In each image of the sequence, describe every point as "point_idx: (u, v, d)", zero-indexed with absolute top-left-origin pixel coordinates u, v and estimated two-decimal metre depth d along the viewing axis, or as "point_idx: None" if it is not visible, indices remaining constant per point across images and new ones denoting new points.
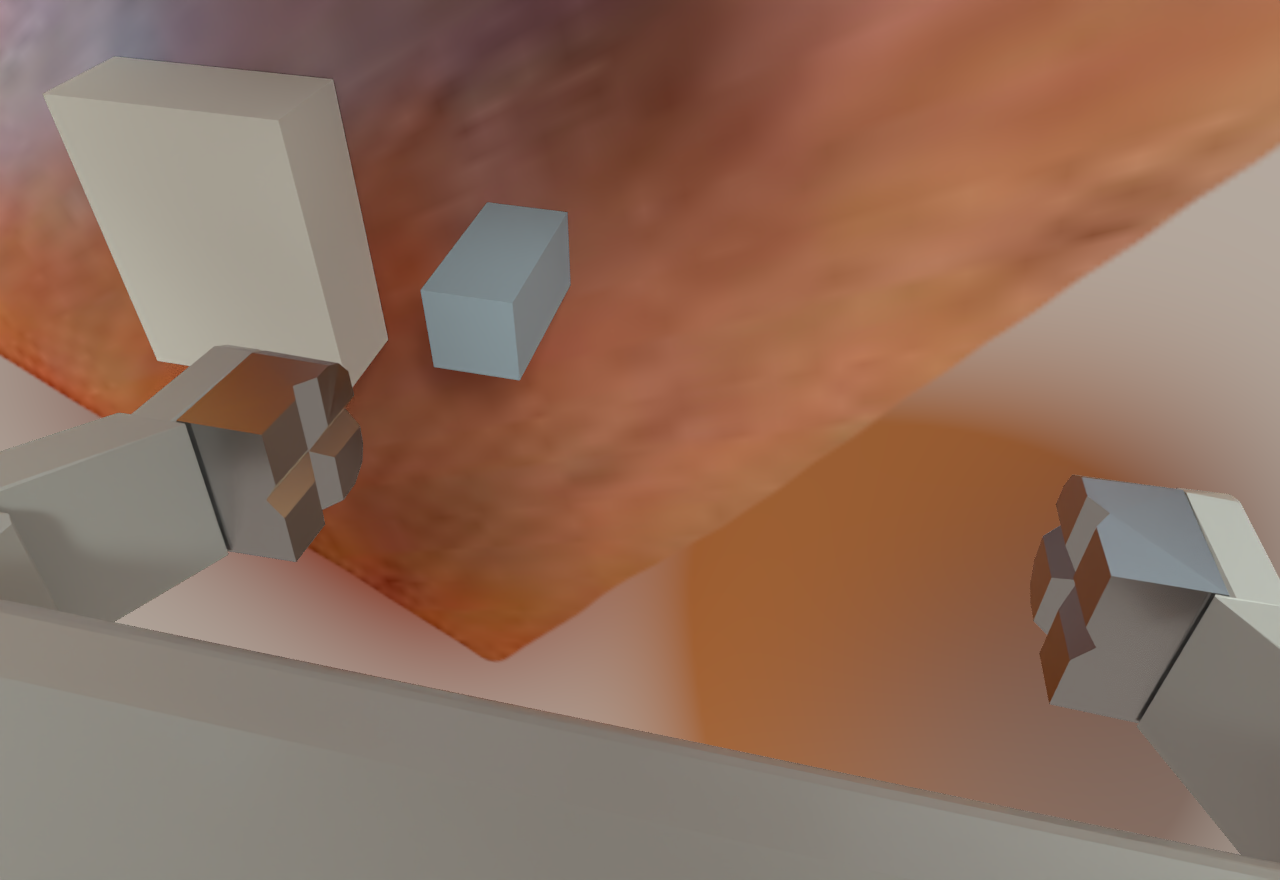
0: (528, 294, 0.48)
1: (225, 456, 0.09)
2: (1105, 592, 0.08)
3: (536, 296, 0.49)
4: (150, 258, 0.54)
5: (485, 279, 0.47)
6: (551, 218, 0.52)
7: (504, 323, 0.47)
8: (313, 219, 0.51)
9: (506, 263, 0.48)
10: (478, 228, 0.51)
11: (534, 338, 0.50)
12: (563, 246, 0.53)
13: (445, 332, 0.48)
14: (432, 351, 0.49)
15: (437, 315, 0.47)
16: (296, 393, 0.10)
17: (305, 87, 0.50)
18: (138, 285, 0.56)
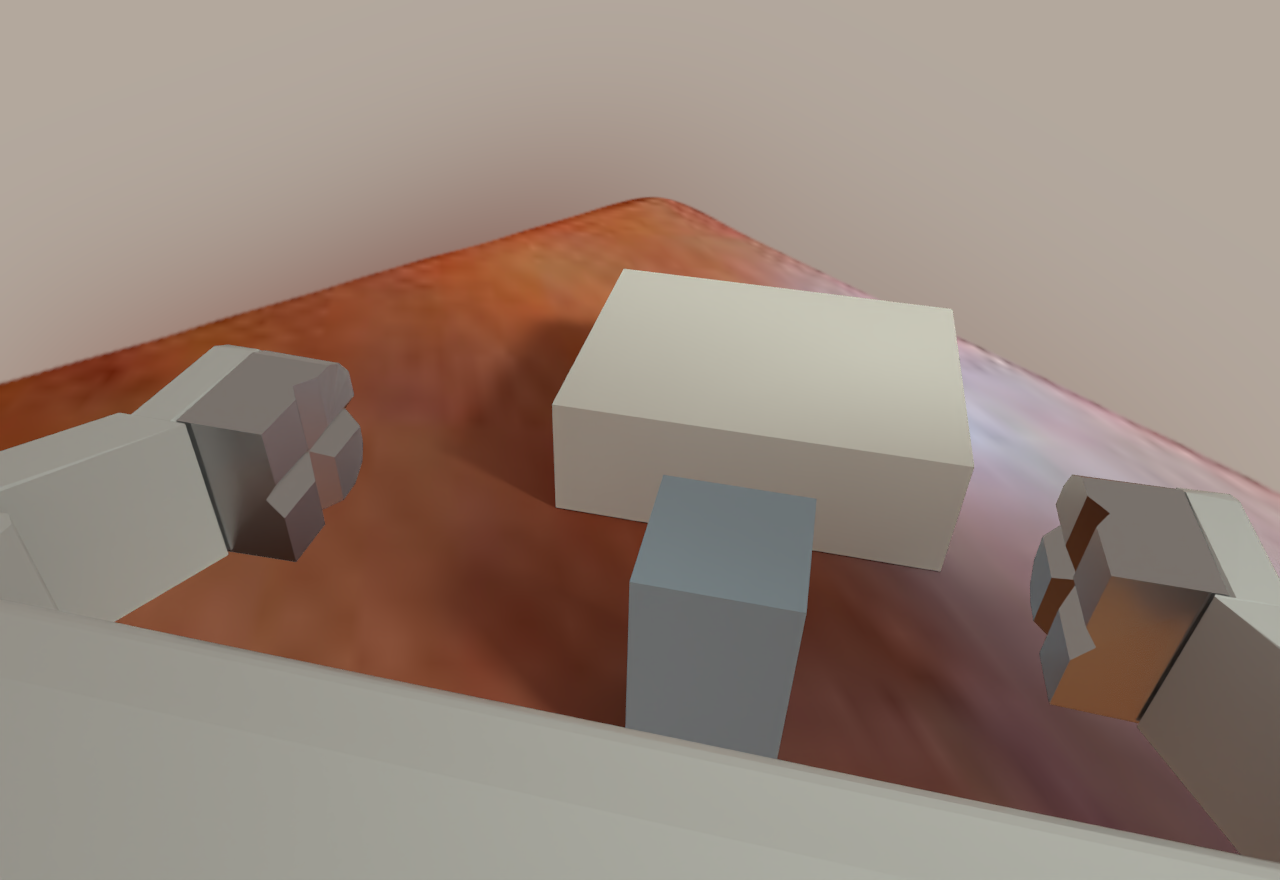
0: (761, 663, 0.26)
1: (225, 456, 0.09)
2: (1105, 592, 0.08)
3: (728, 683, 0.27)
4: (765, 310, 0.47)
5: None
6: None
7: (760, 590, 0.25)
8: (821, 461, 0.38)
9: None
10: None
11: (656, 652, 0.27)
12: None
13: (734, 507, 0.28)
14: (695, 481, 0.29)
15: (770, 506, 0.28)
16: (296, 393, 0.10)
17: None
18: (728, 290, 0.49)
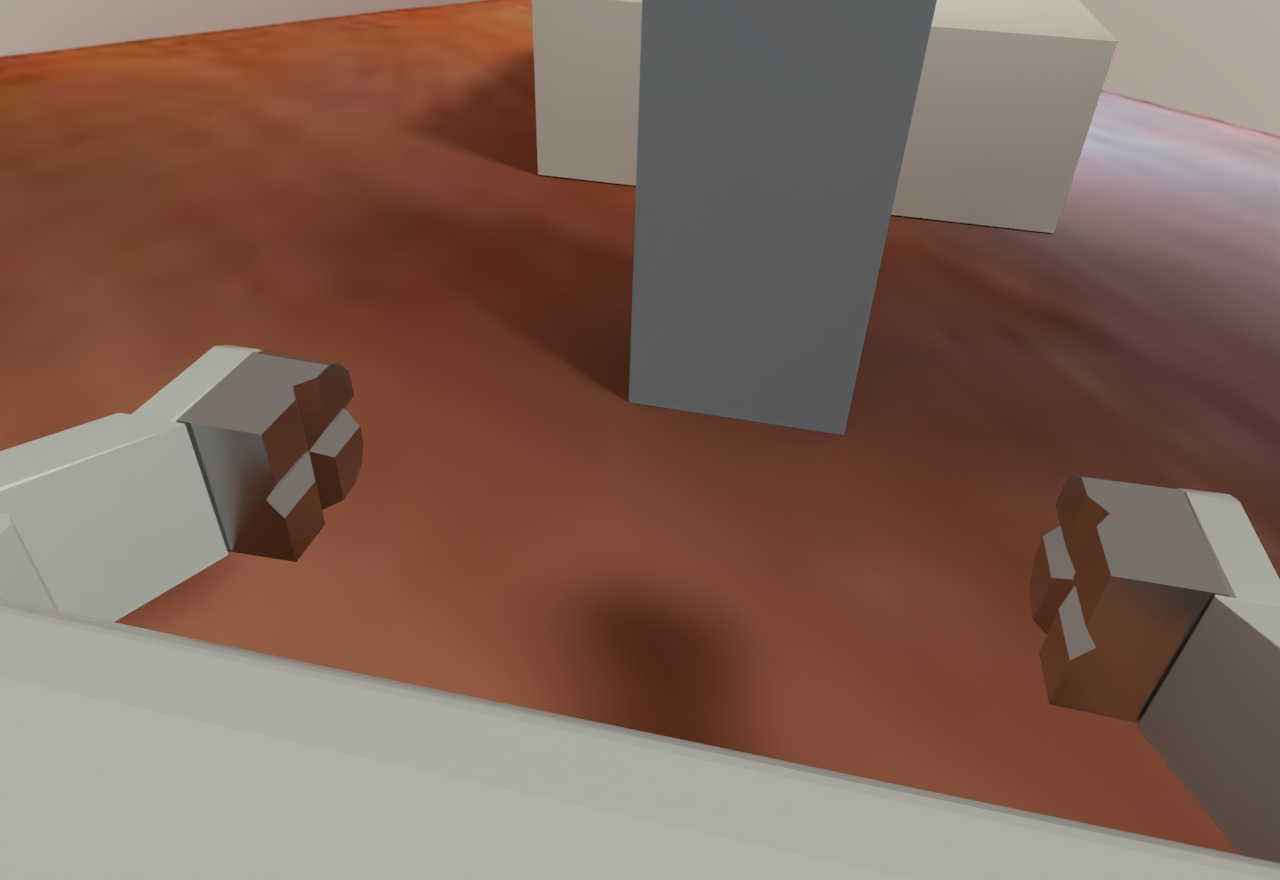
0: (861, 81, 0.16)
1: (225, 456, 0.09)
2: (1105, 592, 0.08)
3: (803, 141, 0.17)
4: None
5: None
6: None
7: None
8: None
9: None
10: None
11: (687, 86, 0.17)
12: (776, 384, 0.20)
13: None
14: None
15: None
16: (296, 393, 0.10)
17: None
18: None
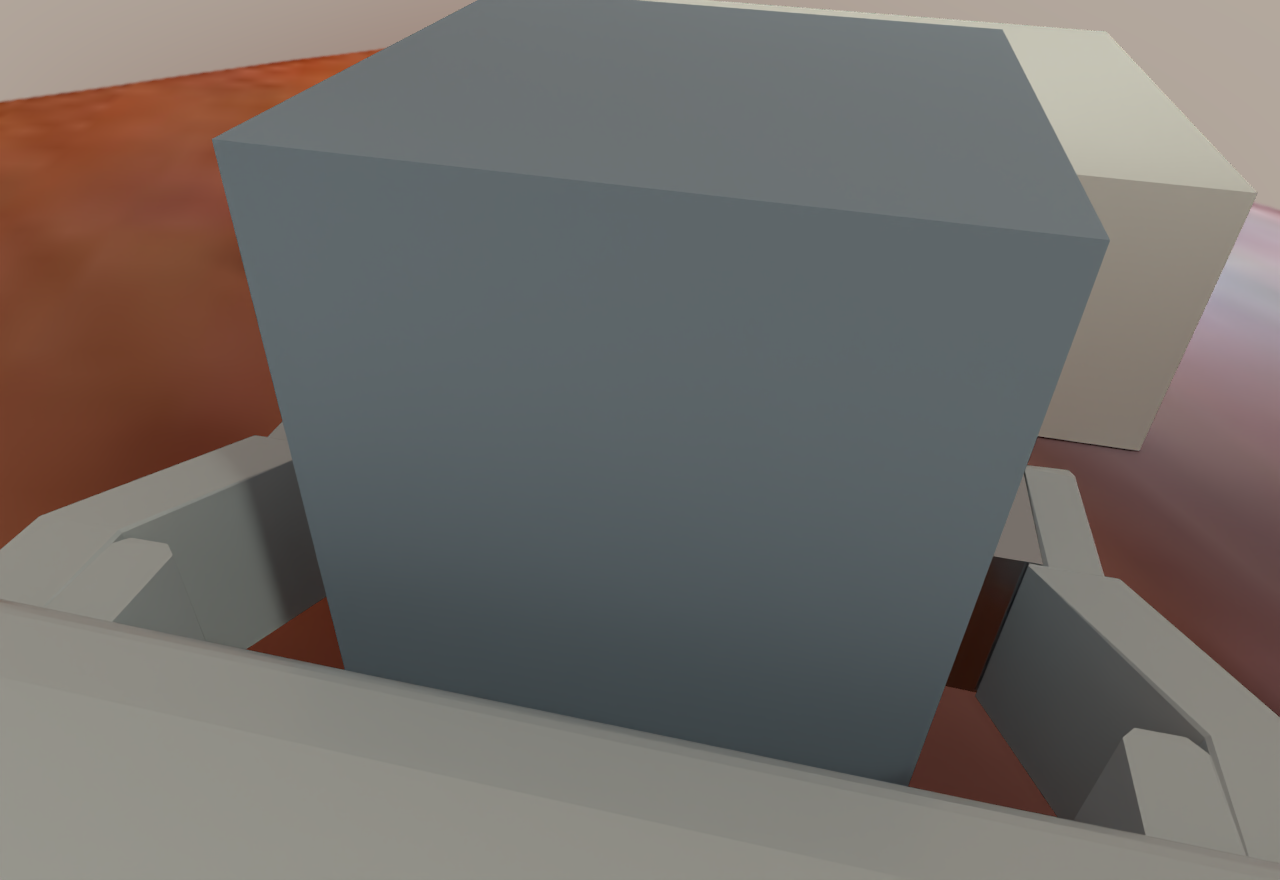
0: (835, 554, 0.06)
1: None
2: None
3: (697, 644, 0.07)
4: None
5: None
6: None
7: (844, 172, 0.05)
8: None
9: None
10: None
11: (411, 519, 0.07)
12: None
13: (724, 31, 0.08)
14: None
15: (847, 33, 0.08)
16: None
17: None
18: None
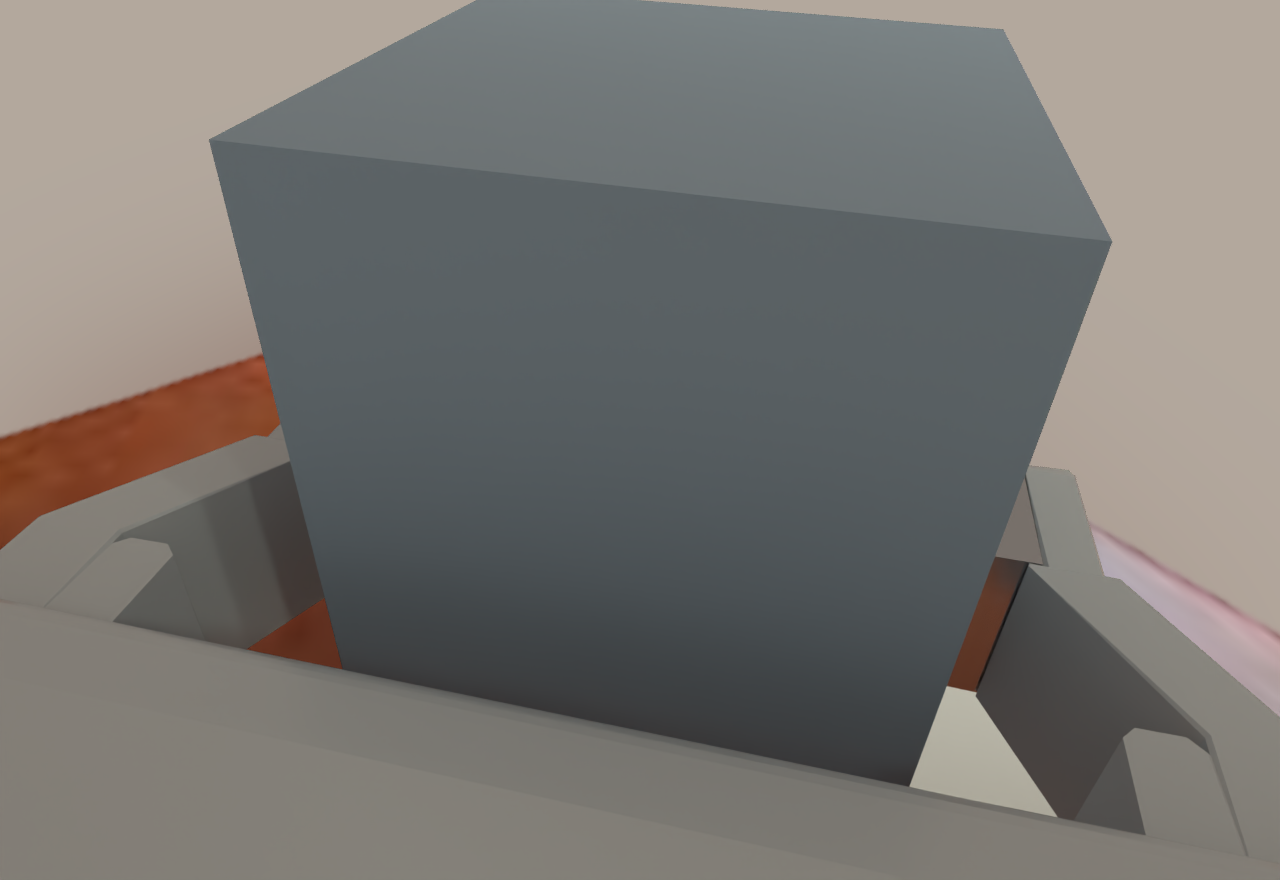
0: (835, 556, 0.06)
1: None
2: None
3: (697, 646, 0.07)
4: None
5: None
6: None
7: (844, 172, 0.05)
8: None
9: None
10: None
11: (410, 520, 0.07)
12: None
13: (723, 31, 0.08)
14: None
15: (848, 33, 0.08)
16: None
17: None
18: None
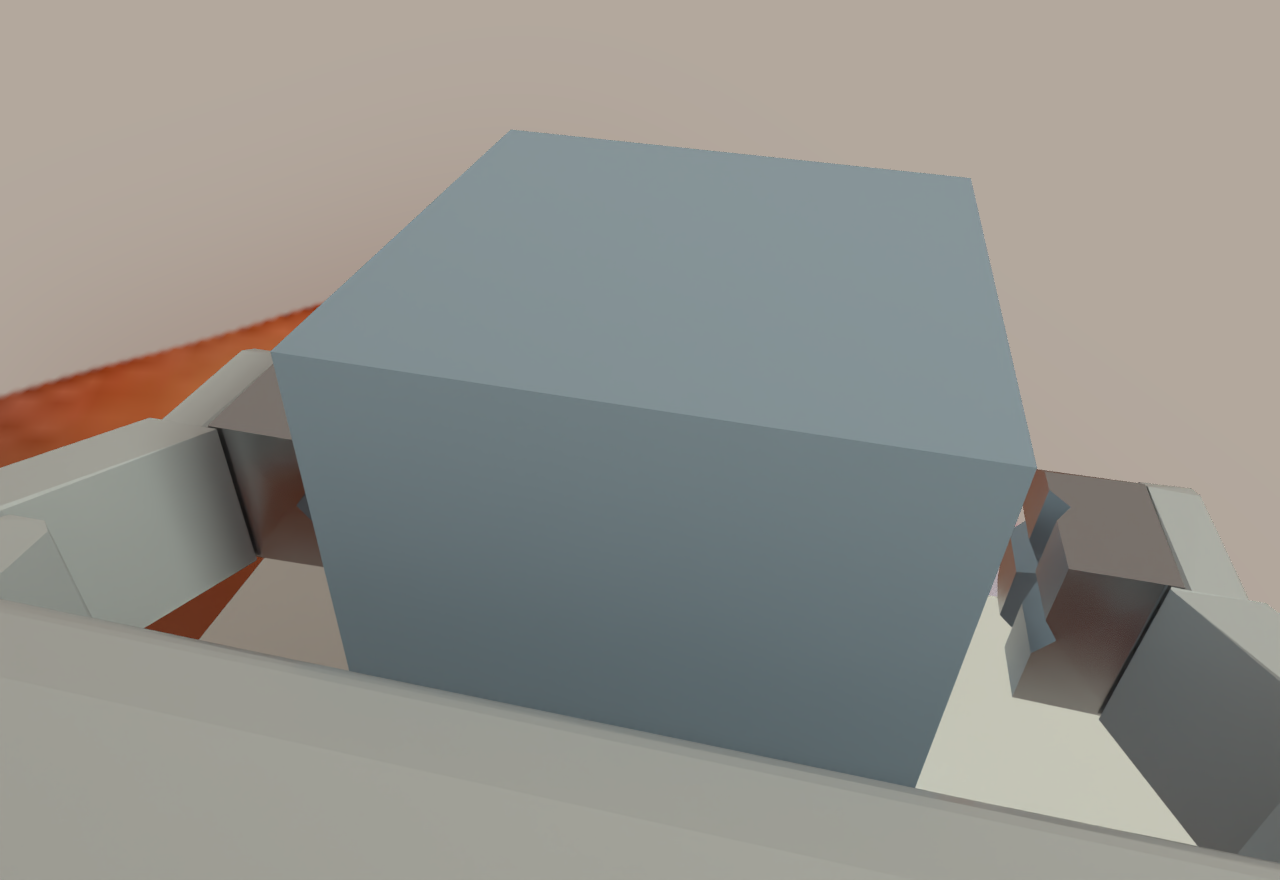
0: (810, 690, 0.07)
1: (256, 461, 0.09)
2: (1063, 585, 0.08)
3: None
4: None
5: None
6: None
7: (816, 386, 0.06)
8: None
9: None
10: None
11: (436, 648, 0.08)
12: None
13: (716, 187, 0.09)
14: (602, 141, 0.10)
15: (829, 187, 0.09)
16: None
17: None
18: None
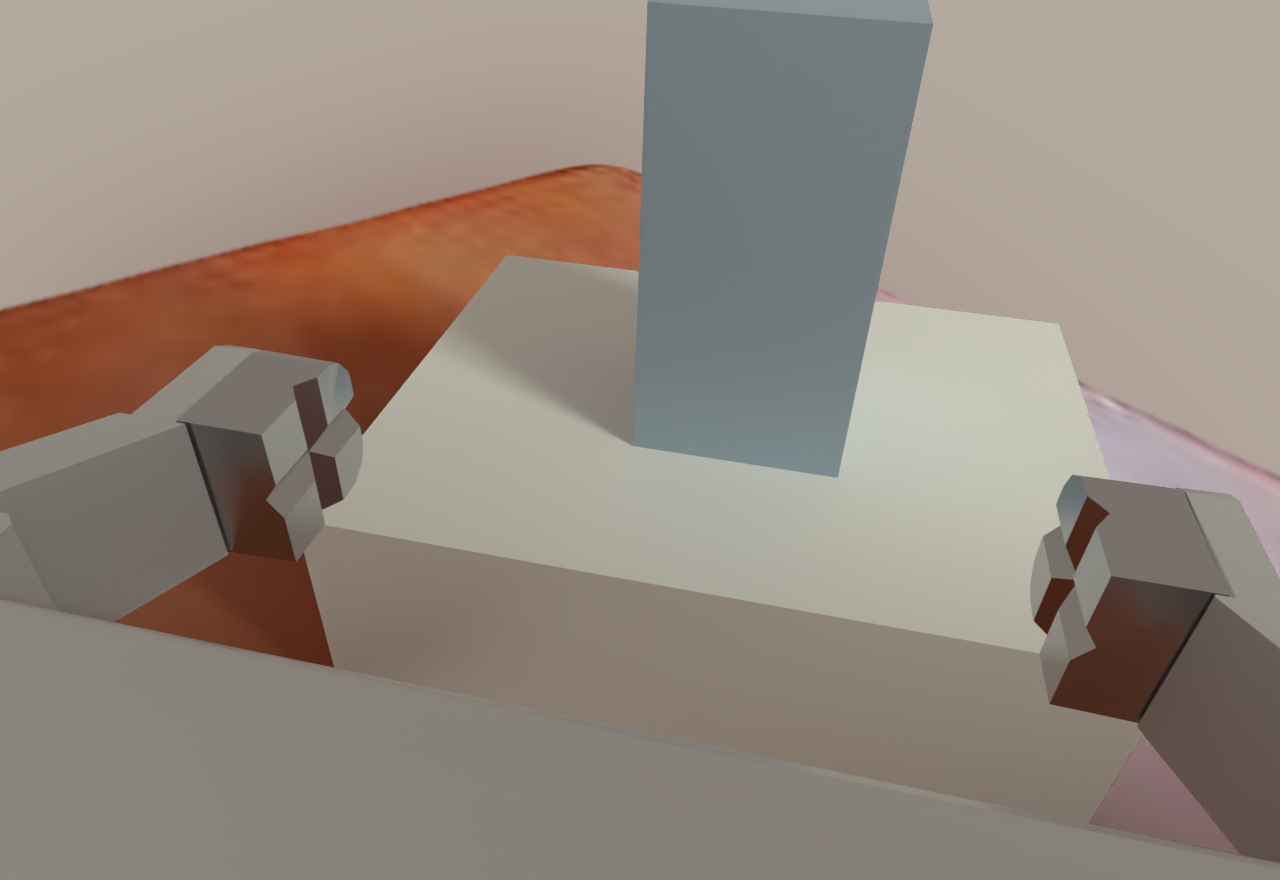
0: (851, 157, 0.17)
1: (225, 456, 0.09)
2: (1105, 592, 0.08)
3: (796, 210, 0.18)
4: None
5: None
6: None
7: (854, 11, 0.16)
8: (840, 648, 0.18)
9: None
10: None
11: (687, 160, 0.18)
12: (773, 431, 0.21)
13: None
14: None
15: None
16: (296, 393, 0.10)
17: None
18: None
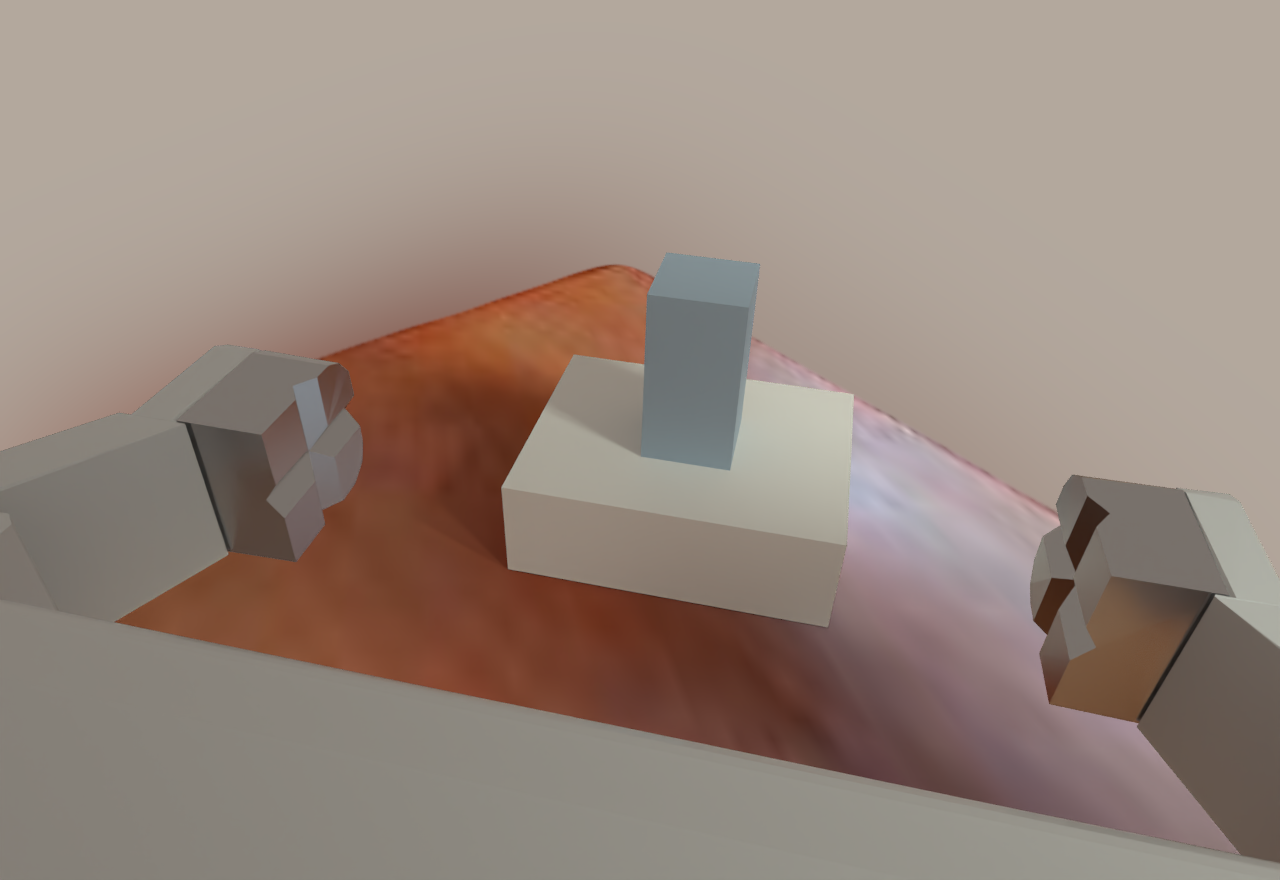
0: (724, 348, 0.44)
1: (225, 456, 0.09)
2: (1105, 592, 0.08)
3: (705, 365, 0.45)
4: None
5: (750, 320, 0.46)
6: (733, 449, 0.49)
7: (723, 298, 0.44)
8: (723, 538, 0.46)
9: (745, 356, 0.46)
10: (745, 380, 0.50)
11: (662, 346, 0.45)
12: (701, 450, 0.48)
13: (709, 266, 0.46)
14: (686, 255, 0.47)
15: (731, 266, 0.46)
16: (297, 394, 0.10)
17: None
18: None
